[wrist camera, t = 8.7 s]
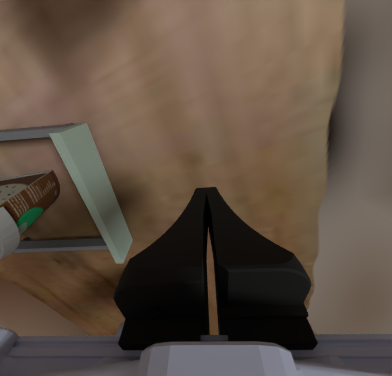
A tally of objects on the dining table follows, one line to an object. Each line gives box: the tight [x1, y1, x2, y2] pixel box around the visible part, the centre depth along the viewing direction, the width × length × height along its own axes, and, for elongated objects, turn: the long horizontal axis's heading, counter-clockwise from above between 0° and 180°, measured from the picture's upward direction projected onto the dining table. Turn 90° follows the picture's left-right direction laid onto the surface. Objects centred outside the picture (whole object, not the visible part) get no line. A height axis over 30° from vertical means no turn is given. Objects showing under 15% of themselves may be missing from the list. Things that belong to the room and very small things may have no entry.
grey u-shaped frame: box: [0, 123, 133, 263], centre depth 22 cm, size 18×19×5 cm
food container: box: [0, 170, 60, 260], centre depth 20 cm, size 12×6×10 cm, turn 100°
